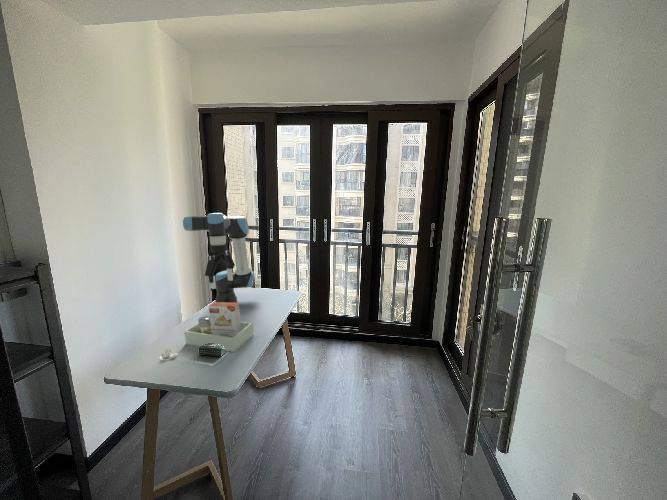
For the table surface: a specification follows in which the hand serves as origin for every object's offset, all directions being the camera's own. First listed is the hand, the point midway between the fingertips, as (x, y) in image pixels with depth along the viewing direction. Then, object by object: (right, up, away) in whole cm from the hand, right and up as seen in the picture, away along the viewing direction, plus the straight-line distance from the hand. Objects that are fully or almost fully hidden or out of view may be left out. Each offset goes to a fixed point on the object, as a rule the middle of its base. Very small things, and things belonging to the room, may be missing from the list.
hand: (222, 284), depth 143 cm
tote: (-4, -31, +7) cm, 32 cm away
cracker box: (0, -31, +6) cm, 32 cm away
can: (-12, -30, +10) cm, 34 cm away
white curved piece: (-23, -36, -10) cm, 44 cm away
